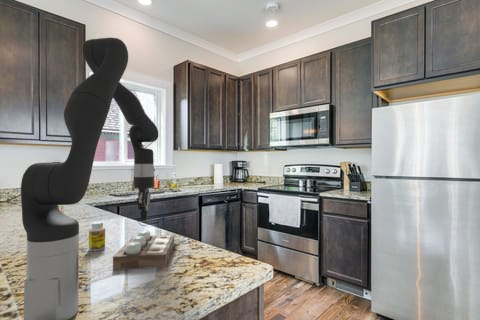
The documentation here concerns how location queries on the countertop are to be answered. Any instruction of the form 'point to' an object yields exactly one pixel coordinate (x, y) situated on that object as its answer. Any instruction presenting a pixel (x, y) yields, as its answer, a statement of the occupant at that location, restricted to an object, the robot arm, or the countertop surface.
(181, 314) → the countertop surface
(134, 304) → the countertop surface
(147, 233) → the button far
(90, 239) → the supplement bottle
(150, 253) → the brown wooden tray
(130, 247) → the button near
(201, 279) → the countertop surface
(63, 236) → the robot arm
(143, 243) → the button middle
